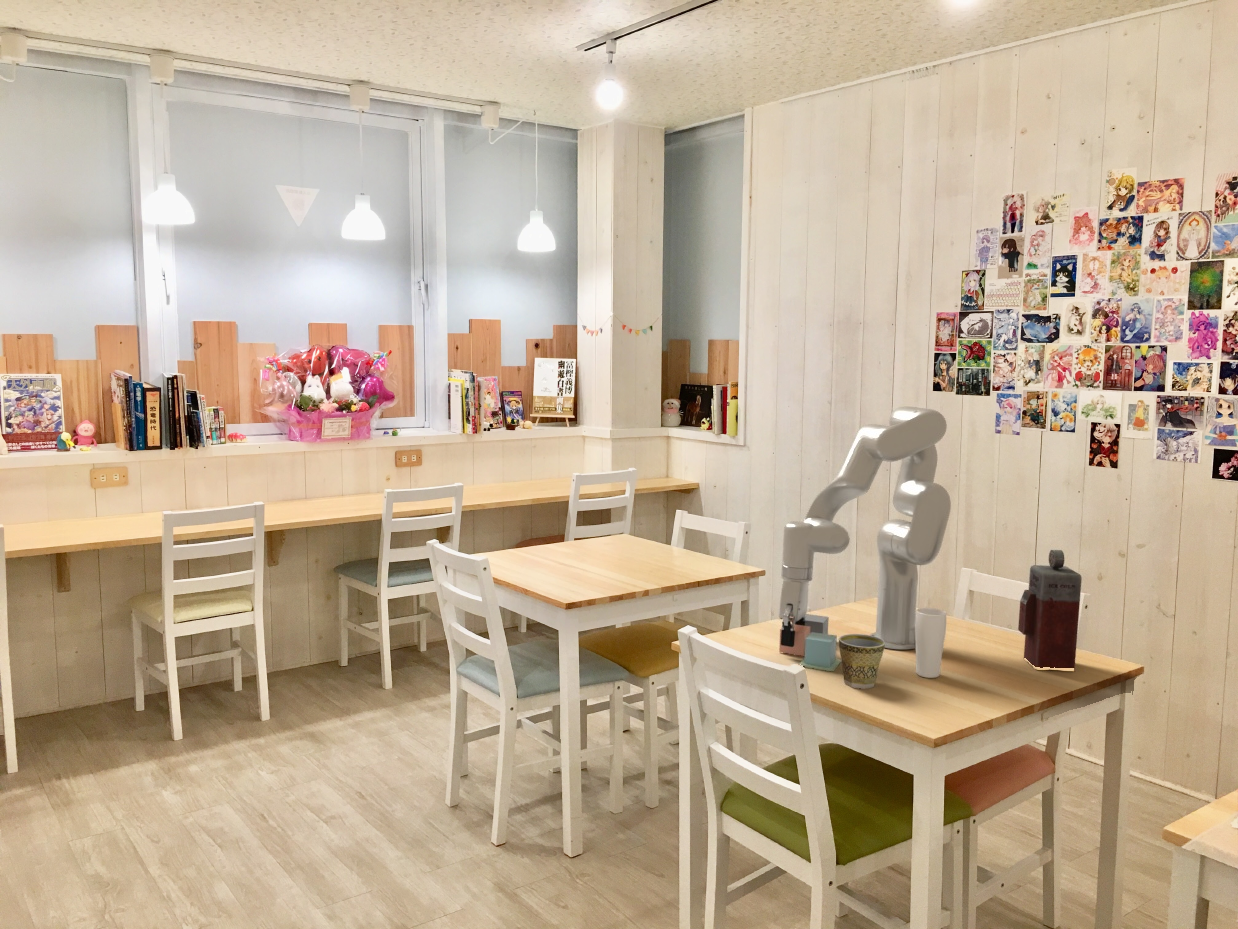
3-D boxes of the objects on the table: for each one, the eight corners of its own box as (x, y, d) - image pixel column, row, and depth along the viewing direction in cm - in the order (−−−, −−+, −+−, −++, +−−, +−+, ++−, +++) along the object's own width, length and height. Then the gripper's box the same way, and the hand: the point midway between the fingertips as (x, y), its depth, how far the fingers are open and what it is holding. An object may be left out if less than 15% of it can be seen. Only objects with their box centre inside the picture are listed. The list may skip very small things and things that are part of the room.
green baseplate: (840, 662, 237) (840, 659, 236) (833, 671, 229) (833, 669, 229) (807, 657, 240) (807, 654, 240) (799, 666, 233) (799, 664, 232)
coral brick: (785, 646, 248) (786, 623, 247) (809, 650, 246) (810, 626, 245) (779, 653, 243) (780, 629, 242) (803, 656, 240) (804, 632, 239)
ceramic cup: (880, 694, 215) (882, 649, 214) (833, 688, 218) (835, 643, 217) (886, 676, 227) (888, 633, 226) (841, 670, 231) (843, 628, 229)
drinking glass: (927, 681, 224) (931, 616, 222) (906, 672, 230) (909, 609, 228) (949, 677, 227) (953, 613, 225) (927, 668, 233) (931, 606, 231)
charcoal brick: (827, 639, 255) (828, 616, 254) (822, 645, 249) (823, 622, 249) (804, 636, 257) (805, 613, 256) (798, 642, 252) (799, 619, 251)
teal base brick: (835, 660, 236) (836, 635, 235) (830, 667, 231) (831, 642, 230) (810, 656, 238) (811, 632, 238) (804, 663, 233) (805, 638, 232)
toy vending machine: (1013, 658, 242) (1021, 545, 239) (1060, 659, 241) (1069, 546, 238) (1025, 670, 233) (1034, 553, 230) (1074, 671, 233) (1084, 554, 229)
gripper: (791, 564, 251) (786, 630, 253) (772, 577, 235) (767, 647, 237) (820, 568, 248) (816, 634, 250) (803, 581, 232) (798, 652, 234)
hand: (792, 640), depth 244 cm, fingers open, 9 cm apart
